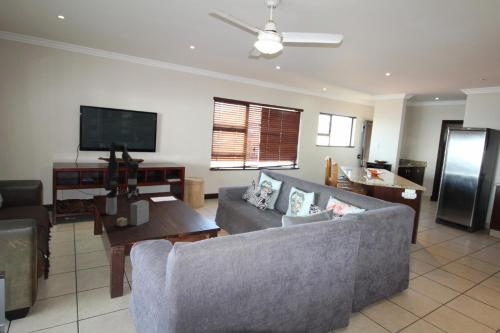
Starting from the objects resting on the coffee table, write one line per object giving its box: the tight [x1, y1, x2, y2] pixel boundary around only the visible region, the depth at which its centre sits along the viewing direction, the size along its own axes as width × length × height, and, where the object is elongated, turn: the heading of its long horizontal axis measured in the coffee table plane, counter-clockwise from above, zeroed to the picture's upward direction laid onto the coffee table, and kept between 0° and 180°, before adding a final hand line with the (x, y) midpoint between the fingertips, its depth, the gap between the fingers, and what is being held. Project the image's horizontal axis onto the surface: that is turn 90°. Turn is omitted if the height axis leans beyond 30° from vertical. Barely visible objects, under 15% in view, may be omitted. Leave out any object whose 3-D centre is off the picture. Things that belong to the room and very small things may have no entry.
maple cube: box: [116, 216, 128, 227], centre depth 260 cm, size 6×6×6 cm
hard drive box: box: [130, 199, 150, 227], centre depth 267 cm, size 16×8×20 cm, turn 158°
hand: (132, 200), depth 261 cm, fingers open, 8 cm apart
